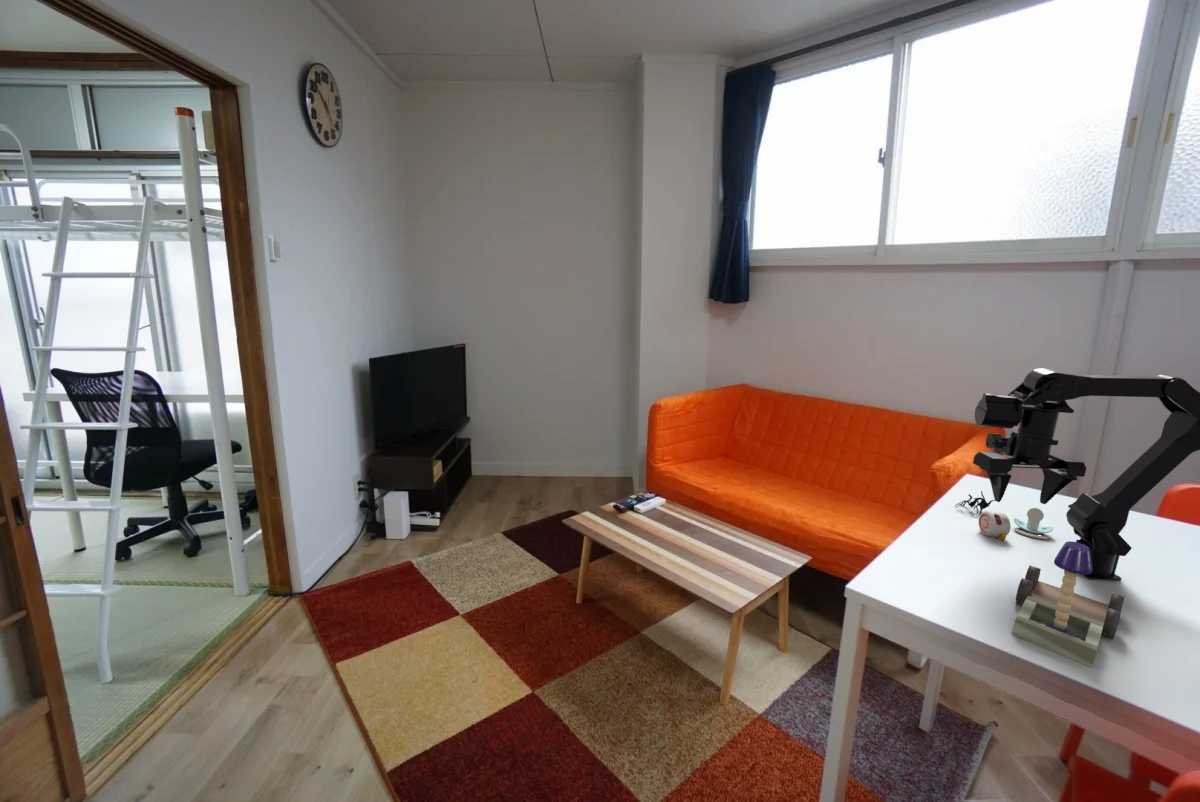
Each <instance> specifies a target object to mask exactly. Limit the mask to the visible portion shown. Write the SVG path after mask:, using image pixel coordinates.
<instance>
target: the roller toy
mask: <svg viewBox="0 0 1200 802" xmlns="http://www.w3.org/2000/svg"><path fill="white" fill-rule="evenodd" d="M1011 525H1012V524H1011V522H1010V518H1009V516H1008V515H1007V514H1006V513H1005V512H1002V511H996V510H994V511H993V510H985V511H983V512H982V511H981V514H979V517H978V527H979V529H980V531H981V533H982V534H983V535H984V536H987V537H997V539H998V540H1001V541H1005V540H1006V538H1007V536H1008V535H1009V534H1010V532H1011V529H1012V528H1011Z"/></svg>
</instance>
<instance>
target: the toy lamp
mask: <svg viewBox="0 0 1200 802" xmlns="http://www.w3.org/2000/svg"><path fill="white" fill-rule="evenodd" d="M1053 563H1054V565H1055V566H1056V567H1058V568H1059V569H1061V570H1063V574H1064V575H1063V576H1062V578H1061V582H1062V583H1061V584H1060V587H1059V588H1060V591H1061V593H1060V594H1059V597H1058V598H1059V601H1058V603H1057V610H1056V612H1055V616H1056V618H1055V619H1054V624H1047V623H1045V624H1044V625H1045V626H1047V627H1050V628H1052V629H1055V630H1057V631H1060V632H1063V633H1065V634H1068V635H1070V636H1073V637H1074V634H1073V633H1071V632H1070V631H1069V630H1068V629H1066V628H1067V620H1068V619H1069V612H1070V610H1071V605H1070V604H1071V603H1072V600H1073V598H1072V595H1073V594H1074V593H1075V586H1076V585H1077V578H1078V576H1079V575H1080V576H1083V575H1088V574H1091V573H1092V571H1093V568H1092V561H1091V554H1090V549H1089V548H1088V547H1087V546H1086V545H1083V544H1081V543H1077V542H1076V541H1070V540H1069V541H1066V542H1065V543H1063V545H1062V547H1061V548H1060V549H1059V551H1058V553H1057V555H1056V556H1055V558H1054V560H1053Z"/></svg>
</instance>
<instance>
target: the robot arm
mask: <svg viewBox="0 0 1200 802" xmlns="http://www.w3.org/2000/svg"><path fill="white" fill-rule="evenodd" d="M1090 396H1091V397H1124V398H1125V397H1126V398H1127V397H1129V398H1130V397H1131V398H1133V397H1136V398H1157V399H1158V401H1159V402H1160V404H1161V406H1163V408H1165V410H1167V412H1169V413H1170V414H1169V416H1168V417H1167V418H1166V420H1165V422H1164V424H1163V428H1162V430H1161V431H1162V432H1161V436H1160V437H1159V438H1158V439H1157V440H1156V441H1155V442H1154V443H1153V444H1152V445H1151V446H1150V447H1149V448H1148V449H1146V451H1144V453H1143V454H1141V456H1140V455H1139V457H1138V458H1137V459H1136V460H1135V461H1134V462H1133V463H1132V464H1131V465H1129V467H1128V468H1126V470H1124V471H1123V472H1122V473H1121V474H1120V475H1119V476H1118V477H1117V478H1116V479H1115V480H1114V481H1113V482H1112V483H1111V484H1110V485H1108V486H1107V488H1105V489H1104V490H1103V491H1102V492H1100V493H1097V494H1094V495H1092V496H1090V495H1089V494H1087V493H1086V492H1082V493H1081V494H1079V496H1078V497H1077V499H1076V500H1075V501H1073V502H1072V503H1071V504H1070V503H1069V504H1068V505H1067V507H1068V508H1069V509H1068V510H1067V512H1066V514H1065V516H1066V520H1067V523H1068V524H1069V525H1070V526H1071V527H1072V528H1073V529H1072V530H1073V533H1074V534H1075V535H1076V536H1077V537H1079V539H1076V541H1075V542H1077V543H1081V544H1083V545H1086V546H1087V547H1088V548H1089V549H1090V554H1091V561H1092V568H1093V571H1092V573H1091V574H1088V575H1082V576H1083V577H1085V578H1087V579H1089V580H1102V581H1103V580H1105V581H1119V582H1121V581H1122V577H1121V576H1119V575H1117V574H1116V570H1117V567H1118V563H1119V559H1120V556H1121V557H1126V556H1127V554H1129V553H1130V551H1131V550H1132V546H1130V544H1129V543H1128V542H1127V541H1126V540H1125V539H1124V538H1123V536H1121V535H1120V533H1121V532H1122V530H1123V529H1124V528H1125V527H1126V525H1127V522H1128V518H1129V515H1130V511H1131V510H1132V509H1133V508H1134V506H1136V504H1138V503H1139V502H1140V501H1141V500H1143V498H1144V497H1145V496H1146V495H1147V494H1148V493H1150V492H1151V491H1152V490H1153V489H1154V488H1155V487H1156V486H1157V485H1158V484H1160V483H1161V481H1163V480H1164V479H1165V478H1167V476H1169V475H1170V474H1171V473H1172V472H1173V471H1174V470H1175V469H1176V468H1177V467H1178V466H1179V465H1180V464H1182V463H1183V462H1184V461H1185V460H1186V459H1187V458H1188V457H1190V456H1191V455H1192V454H1193V453H1195V452H1198V451H1200V392H1199V391H1198V390H1197V389H1195V388H1194V387H1193V386H1192V385H1191V384H1190V383H1188V381H1187V380H1185V379H1183V378H1182V377H1178V376H1173V375H1168V374H1159V375H1127V374H1126V375H1124V374H1123V375H1122V374H1121V375H1120V374H1118V375H1117V374H1116V375H1115V374H1114V375H1113V374H1108V375H1107V374H1098V375H1097V374H1080V373H1074V372H1069V371H1063V370H1059V369H1050V368H1045V367H1042V368H1041V367H1040V368H1035V369H1032V370H1031V371H1030V372H1028V374H1027V375H1026V376H1025V377H1024V380H1023V381H1022V382H1021V383H1020V384H1019V385H1018V386H1016V387H1015V388H1014V389H1013V390H1012V391H1011V392H1009V393H1008V394H1007V395H999V394H993V393H987V392H984V393H983V394H982V398H981V399H980V400H979V401H978V403H977V406H975V410H974V420H975V424H976V425H977V426H978V427H979V426H981V427H990V428H999V429H1008V430H1009V429H1013V428H1014V427H1018V428H1017V431H1015V430H1014V431H1013V430H1012V432H1011V433H1010V437H1003V436H1002V434H1001V433H987V435H986V439H985V446H986V448H987V449H993V451H978V452H976V453H975V455H974V456H973V462H972V464H974V465H975V466H977V467H978V468H979V469H981V470H983V471H984V472H985V473H986V474H987V476H988V479H989V483H990V486H991V490H992V494H993V500H995V501H994V502H997V503H1000V502H1001V501H1002V499H1003V498H1004V495H1005V493H1006V490H1007V487H1008V486H1009V483H1010V480H1011V478H1012V474H1010V472H1011V471H1012V469H1013V468H1016V469H1017V468H1019V469H1020V468H1021V469H1022V468H1023V469H1041V471H1042V474H1043V481H1042V485H1041V486H1042V487H1041V491H1040V495H1039V496H1040V497H1039V502H1040V504H1043V505H1046V504H1048V503H1049V501H1051V500H1052V499H1053V498H1054V497H1055V496H1056V495H1057V494H1058V493H1060V491H1061V490H1063V489H1064V488H1066V486H1068V485H1069V484H1070V483H1071V482H1073V481H1077V480H1078V478H1079V477H1082V478H1084V477H1086V472H1087V466H1086V464H1085V462H1083V461H1081V460H1079V459H1076V458H1075V457H1074V458H1073V456H1069V455H1066V454H1051V450H1052V446H1058V444H1059V440H1058V439H1056V438H1055V432H1056V429H1057V423H1058V421H1059V416H1060V413H1062V414H1063V413H1066V414H1073V413H1075V410H1074V409H1073V408H1072V407H1071V406H1070V405H1069V404H1068V403H1067V401H1068V400H1075V399H1079V398H1080V399H1081V398H1083V397H1090ZM1000 453H1002V454H1003V455H1002V454H1000ZM1004 455H1006V456H1004ZM1007 456H1008V457H1007ZM1009 456H1010V457H1009Z"/></svg>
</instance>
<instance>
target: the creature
mask: <svg viewBox="0 0 1200 802" xmlns="http://www.w3.org/2000/svg"><path fill="white" fill-rule="evenodd" d="M980 493H981V497H975V498H973V496H972V495H971V494H970V493H968V497H969V499H968V500H965V499H964V500H962V501H960V502H958V503H957V504H955V506H954V507H955V509H957V508H959V507H963V508H964V507H965V505H966V503H967V505H968V506H969V508H971V509H972V508H974V509H973V510H975V509H976V513H974V514H972V515H971V514H970V515H971V516H970V517H974V516H976V515H978V514H979V513H982V511H983V510H985V509H986V508H988V507H989V506H990V505H991V503H992V502H996V501H995V499H992V500H989V502H987V501H986V498H985V496H984V494H983V490H981V492H980ZM972 499H973V501H972ZM979 501H980V502H979ZM978 507H980V508H979V509H978ZM979 510H980V511H979Z"/></svg>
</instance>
